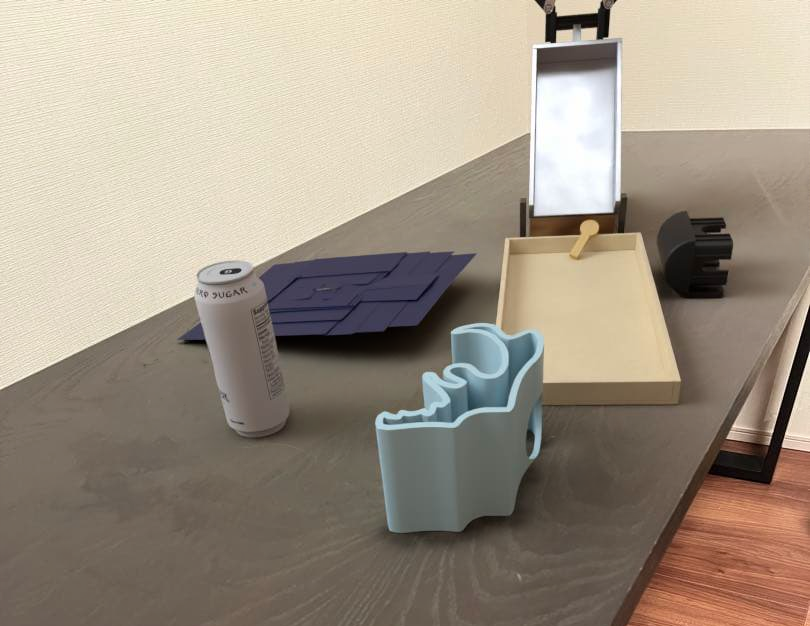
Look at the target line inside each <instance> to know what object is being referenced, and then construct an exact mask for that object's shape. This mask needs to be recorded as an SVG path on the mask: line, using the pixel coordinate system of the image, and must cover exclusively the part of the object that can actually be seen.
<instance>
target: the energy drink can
mask: <svg viewBox="0 0 810 626" xmlns="http://www.w3.org/2000/svg"><path fill="white" fill-rule="evenodd" d="M195 277H196V280H197V283H196V288H195V291H194V295H193V297H194V301H195V306H196V309H197V313H198V317H199V320H200V323H201V324H202V328H203V332H204V335H205V339H204V340H205V342H206V346H207V351H208V355H209V358H210V361H211V366H212V369H213V373H214V377H215V380H216V385H217V389H218V392H219V395H220V399H221V403H222V406H223V411H224V414H225V418H226V422H227V424H228V426H229V427H230V428H231V429H233V430H234V431H235V432H236V433H237V434H238V435H240V436H242V437H245V438H262V437H267V436H270V435H272V434H275V433H277V432H279V431H280V430H281V429H282V428H283V427H284V426H285V425H286V423H287V419H288V417H289V416H290V413H291V411H290V410H291V409H290V404H289V400H288V399H289V398H288V394H287V390H286V385H285V380H284V376H283V371H282V370H283V369H282V366H281V360H280V356H279V351H278V346H277V340H276V336H274V331H273V326H272V321H271V316H270V311H269V307H268V302H267V297H266V292H265V287H264V284H263V282H262V281H261V279H260V278H259V277H260V276H259V275H257V273H256V272H255V271H254V265H253V264H252V263H251V262H249V261H245V260H234V259H233V260H225V261H218V262H215V263H212V264H209V265H207V266H204V267H202V268H201V269H200V270H198V271H197V273H196V275H195Z"/></svg>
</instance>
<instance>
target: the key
mask: <svg viewBox="0 0 810 626" xmlns="http://www.w3.org/2000/svg"><path fill="white" fill-rule="evenodd" d="M598 232H599V225H598V223H597V222H596V221H594V220H586V221H584V222H583V223H582V224H581V226H580V233H581V235H580V236H579V238H578V240H577V241H576V243H575V245H574V247H573V248H572V250H571V252H570V253H569V256H570V257H572V258H574V259H578V257H579V256H580V254H581V252H582V251H583V249H584V247H585V245H586V244H587V242H588V240H589V238H592V237H594V236H596V235H597V234H598Z"/></svg>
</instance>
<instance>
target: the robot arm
mask: <svg viewBox="0 0 810 626" xmlns="http://www.w3.org/2000/svg"><path fill="white" fill-rule="evenodd" d="M534 1H535V3H536V4H537V5H538V6H539V7H540V9H542V11H543V12H544V14H545V27H544V43H557V33H558V31H557V16H558V11H556V7H557V6H556V5H555V4H556V0H534ZM617 1H618V0H601V1H600V3H599V8H597V13H598V26H597V28H596V34H595V35H596V36H595V40H600V39H609V35H610V22H611V9H612V8H613V6H614V5H615V4H616V3H617Z"/></svg>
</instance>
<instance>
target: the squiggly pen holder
mask: <svg viewBox="0 0 810 626" xmlns="http://www.w3.org/2000/svg"><path fill="white" fill-rule="evenodd" d="M450 341H451V360H452V361H451V362H452V364H449V365H447V366H446V367H445V368H444V369H443V370H442V379H441V378H440V377H439V375H438V374H437V373H436V372H433V371H426V372H423V374H422V377H421V380H422V393H423V394H422V395H423V406H424V407H423V408H421V409H417V410H412V411H411V410H406V409H400V410H399V411H398V412H397V413H396V414H393V413H392V412H389V411H382V412H380V413H379V414H378V415H376V418H375V421H374V424H375V433H376V440H377V449H378V457H379V465H380V473H381V480H382V489H383V498H384V504H385V513H386V519H387V520H386V521H387V527H388V530H389V532H392V533H397V534H406V533H418V532H434V531H435V532H436V531H437V532H439V531H441V532H442V531H443V532H452V533H453V532H455V533H460V532H463V531H464V529H465V528H466V527H467V526H468V524H469V523H471V522H472V521H473V520H476V519H478V518H481V517H485V516H486V517H509V516H511V515H512V514H513V512H514V511H515V506H516V499H517V495H518V491H519V487H520V484H521V481H522V478H523V476H524V475H525V473H526V472H527V470H528V469H529V467H530V466H531V465H532V463H534V461H535V460H536V459H537V457H538V455H539V453H540V450H541V444H542V434H543V433H542V432H543V430H542V429H543V427H542V426H543V422H542V421H543V420H542V419H543V417H542V415H543V405H542V398H543V367H544V338H543V335H542V334H541V333H540V332H539V331H537V330H534V329H527V330H525V331H522V332H520V333H518V334H515V335H511V336H510V335H507V334H505V333H504V332H503V331H502V330H501V329H500V328H499V327H498V326H496V324H494V323H488V322H477V323H470V324H465V325H461V326H458V327H456V328H454V329H453V330H451V332H450ZM528 430H529V431H530V432H532V433H533V435H534V444H533V449H532V452H531V454H530V456H528V454H527V446H526V442H527V432H528Z"/></svg>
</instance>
